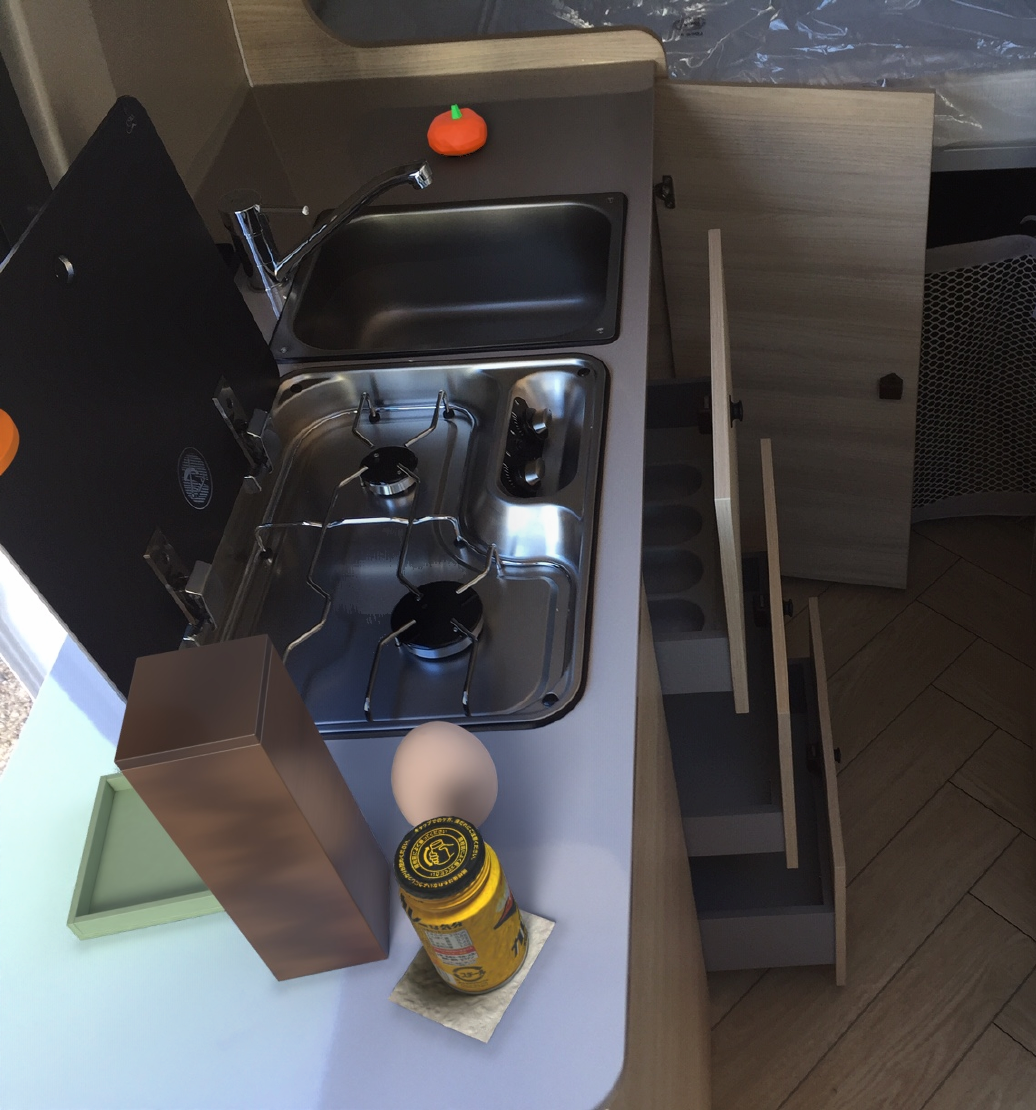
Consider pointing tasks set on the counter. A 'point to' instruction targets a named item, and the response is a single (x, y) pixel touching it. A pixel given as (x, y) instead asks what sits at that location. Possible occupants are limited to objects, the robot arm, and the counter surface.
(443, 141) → the pumpkin
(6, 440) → the hat
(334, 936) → the stand
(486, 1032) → the condiment
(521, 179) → the counter surface
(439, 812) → the egg
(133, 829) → the tray
